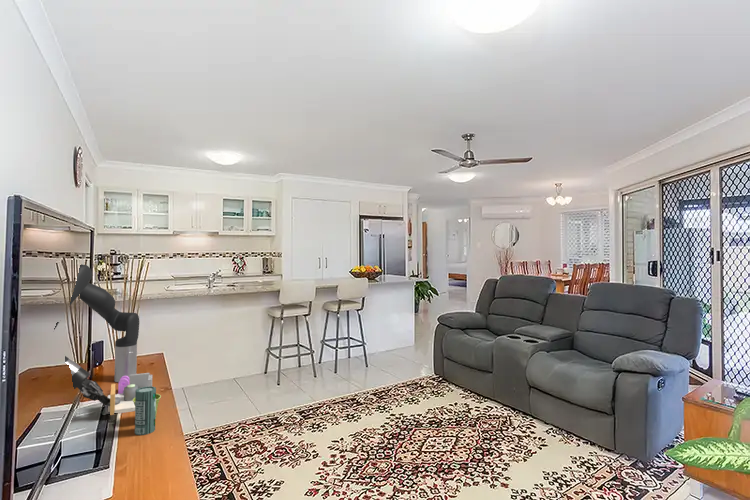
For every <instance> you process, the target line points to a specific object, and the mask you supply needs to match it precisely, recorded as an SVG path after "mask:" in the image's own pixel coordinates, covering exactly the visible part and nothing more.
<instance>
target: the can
mask: <svg viewBox="0 0 750 500" xmlns="http://www.w3.org/2000/svg"><path fill="white" fill-rule="evenodd" d="M156 394H157V387H155V386H153V385H152V386H149V387H142V388H139V389H136V395H135V411H134V434H135V435H136V436H146V435H149V434H152V433H154V432H155V431H156V419H155V415H156V416H157V413H156Z"/></svg>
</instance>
